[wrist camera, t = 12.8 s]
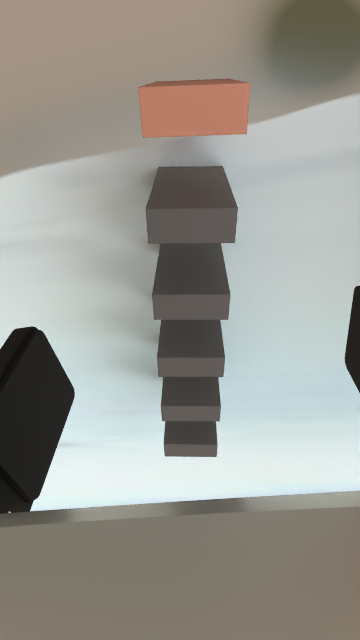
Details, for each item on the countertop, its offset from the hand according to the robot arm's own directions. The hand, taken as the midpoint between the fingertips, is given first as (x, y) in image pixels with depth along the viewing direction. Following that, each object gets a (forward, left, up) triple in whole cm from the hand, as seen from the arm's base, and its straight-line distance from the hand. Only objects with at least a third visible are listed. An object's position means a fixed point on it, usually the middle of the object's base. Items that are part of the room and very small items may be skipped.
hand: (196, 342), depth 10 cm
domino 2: (0, 0, -20) cm, 20 cm away
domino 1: (0, -5, -20) cm, 21 cm away
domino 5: (0, +17, -20) cm, 26 cm away
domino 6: (0, +22, -20) cm, 30 cm away
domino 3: (0, +6, -20) cm, 21 cm away
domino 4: (0, +11, -20) cm, 23 cm away
